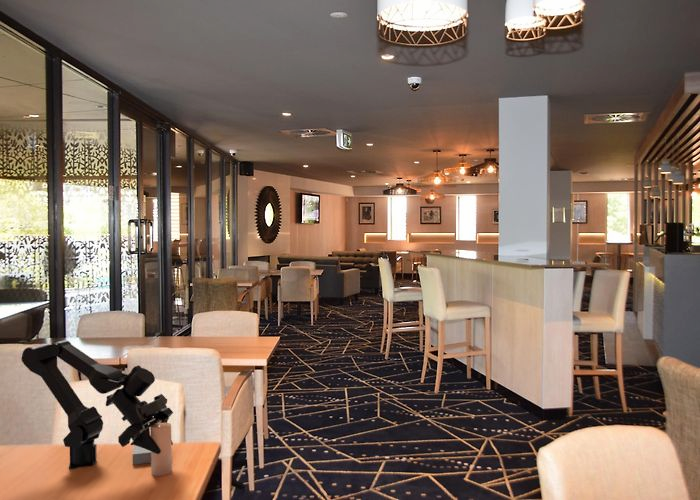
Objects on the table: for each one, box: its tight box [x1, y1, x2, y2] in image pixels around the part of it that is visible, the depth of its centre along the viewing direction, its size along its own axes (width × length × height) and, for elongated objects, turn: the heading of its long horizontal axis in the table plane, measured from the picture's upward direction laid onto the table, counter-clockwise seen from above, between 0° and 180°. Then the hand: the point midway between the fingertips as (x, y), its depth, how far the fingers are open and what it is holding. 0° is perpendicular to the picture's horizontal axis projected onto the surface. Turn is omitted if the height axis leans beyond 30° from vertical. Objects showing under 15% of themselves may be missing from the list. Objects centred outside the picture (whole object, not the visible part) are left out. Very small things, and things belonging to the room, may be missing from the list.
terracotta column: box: [150, 422, 173, 477], centre depth 163 cm, size 6×6×13 cm
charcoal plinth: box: [132, 445, 151, 465], centre depth 175 cm, size 10×10×3 cm
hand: (165, 449), depth 163 cm, fingers closed on terracotta column, 5 cm apart
